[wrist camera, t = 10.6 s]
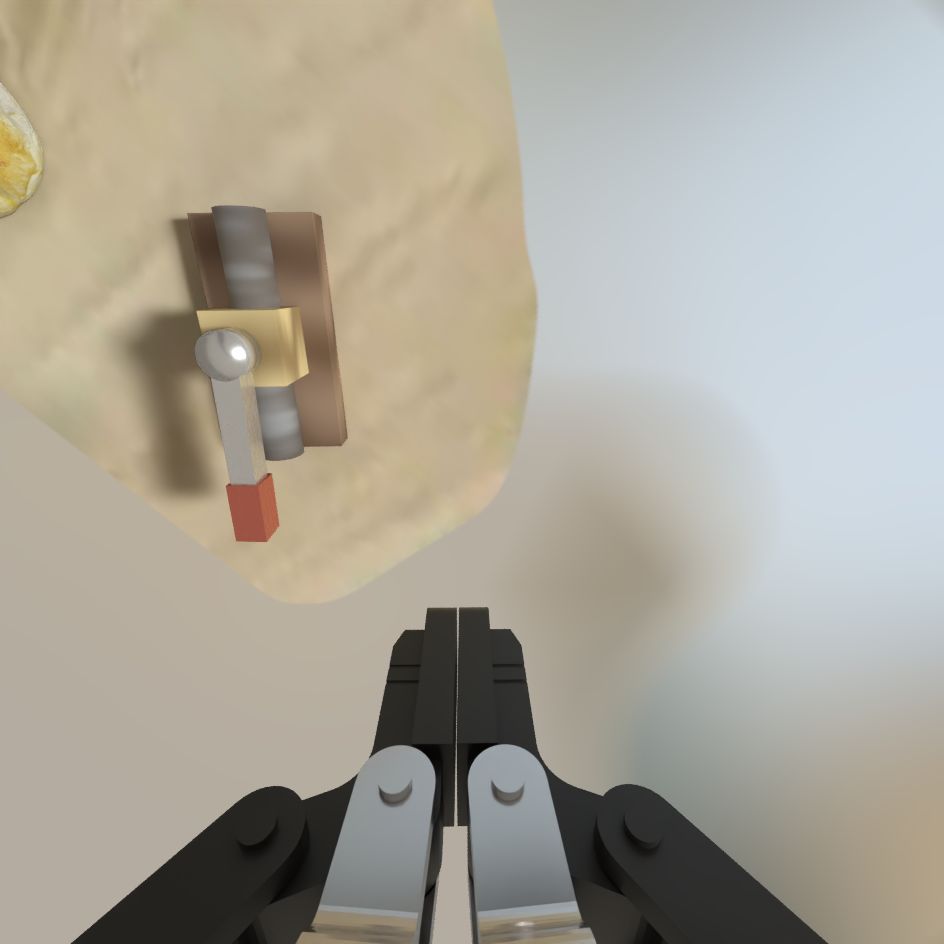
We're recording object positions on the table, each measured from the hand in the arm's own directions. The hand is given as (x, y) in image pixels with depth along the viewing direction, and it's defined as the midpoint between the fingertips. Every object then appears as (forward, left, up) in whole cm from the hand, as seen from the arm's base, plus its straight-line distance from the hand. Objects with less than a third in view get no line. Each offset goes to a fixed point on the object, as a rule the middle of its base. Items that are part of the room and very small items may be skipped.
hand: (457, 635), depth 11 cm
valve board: (-4, -14, -27) cm, 30 cm away
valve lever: (+1, -14, -20) cm, 24 cm away
